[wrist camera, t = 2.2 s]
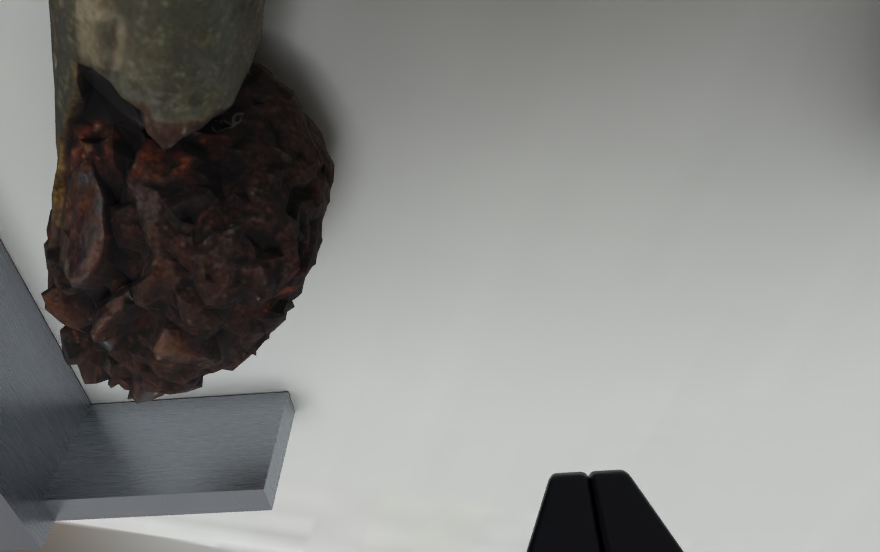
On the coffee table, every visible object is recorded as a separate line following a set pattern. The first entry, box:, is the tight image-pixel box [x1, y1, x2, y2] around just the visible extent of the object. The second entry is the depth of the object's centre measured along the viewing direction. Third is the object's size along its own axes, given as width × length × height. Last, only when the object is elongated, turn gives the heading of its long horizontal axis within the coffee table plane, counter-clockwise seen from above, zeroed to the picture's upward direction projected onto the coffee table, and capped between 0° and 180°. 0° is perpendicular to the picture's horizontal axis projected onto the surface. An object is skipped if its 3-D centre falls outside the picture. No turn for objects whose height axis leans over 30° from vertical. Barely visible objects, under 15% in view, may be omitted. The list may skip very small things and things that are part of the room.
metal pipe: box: [41, 0, 334, 404], centre depth 17 cm, size 18×7×6 cm, turn 165°
